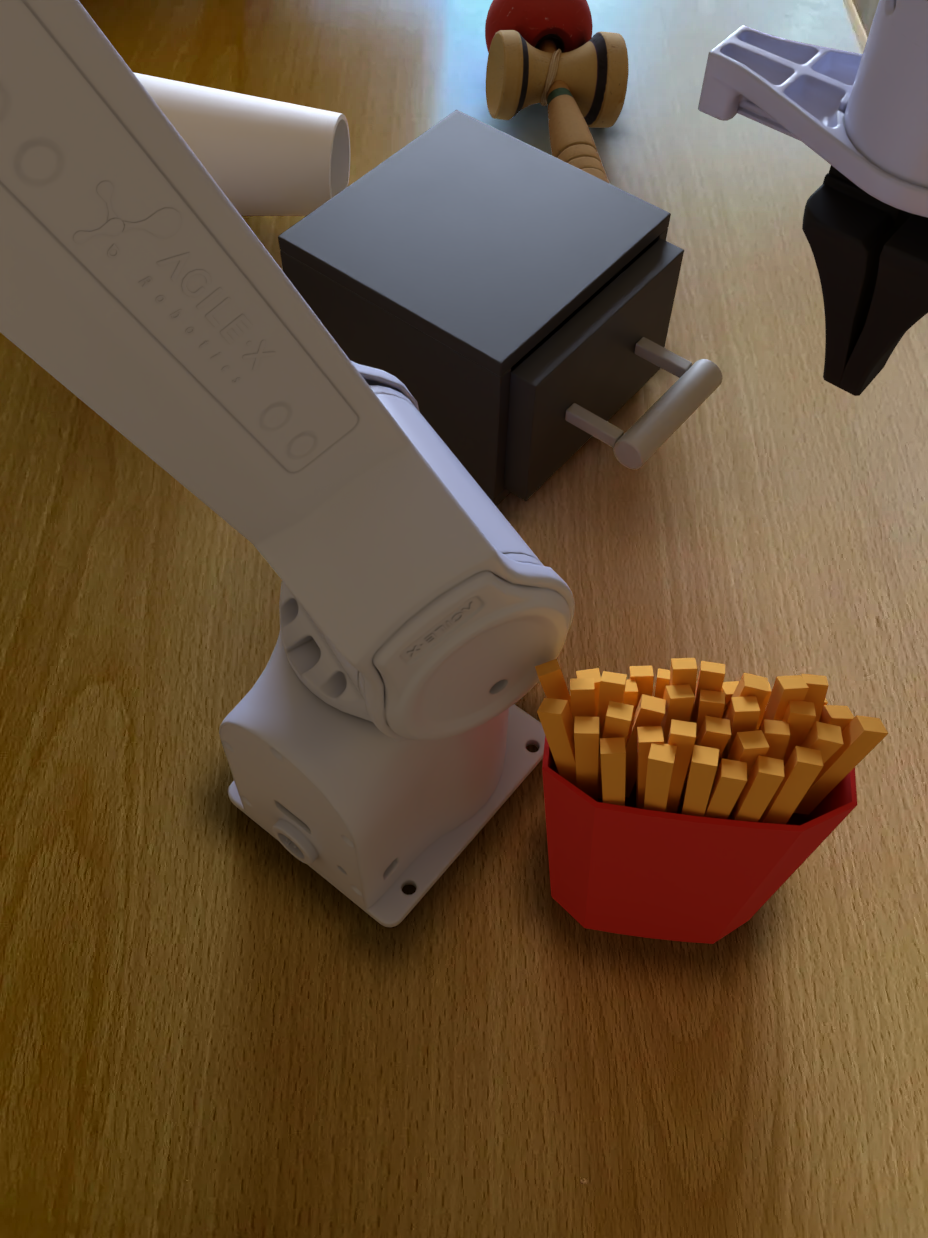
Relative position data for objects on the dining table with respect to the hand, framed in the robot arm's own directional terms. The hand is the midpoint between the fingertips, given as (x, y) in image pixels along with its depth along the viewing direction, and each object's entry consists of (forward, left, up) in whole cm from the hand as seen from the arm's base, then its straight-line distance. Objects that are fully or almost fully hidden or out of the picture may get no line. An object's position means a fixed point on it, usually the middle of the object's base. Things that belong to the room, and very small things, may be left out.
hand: (853, 372), depth 40 cm
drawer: (0, +13, -10) cm, 16 cm away
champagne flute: (-8, +49, -7) cm, 50 cm away
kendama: (+17, +24, -11) cm, 31 cm away
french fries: (-16, -4, -11) cm, 19 cm away
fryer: (0, +16, -10) cm, 20 cm away
